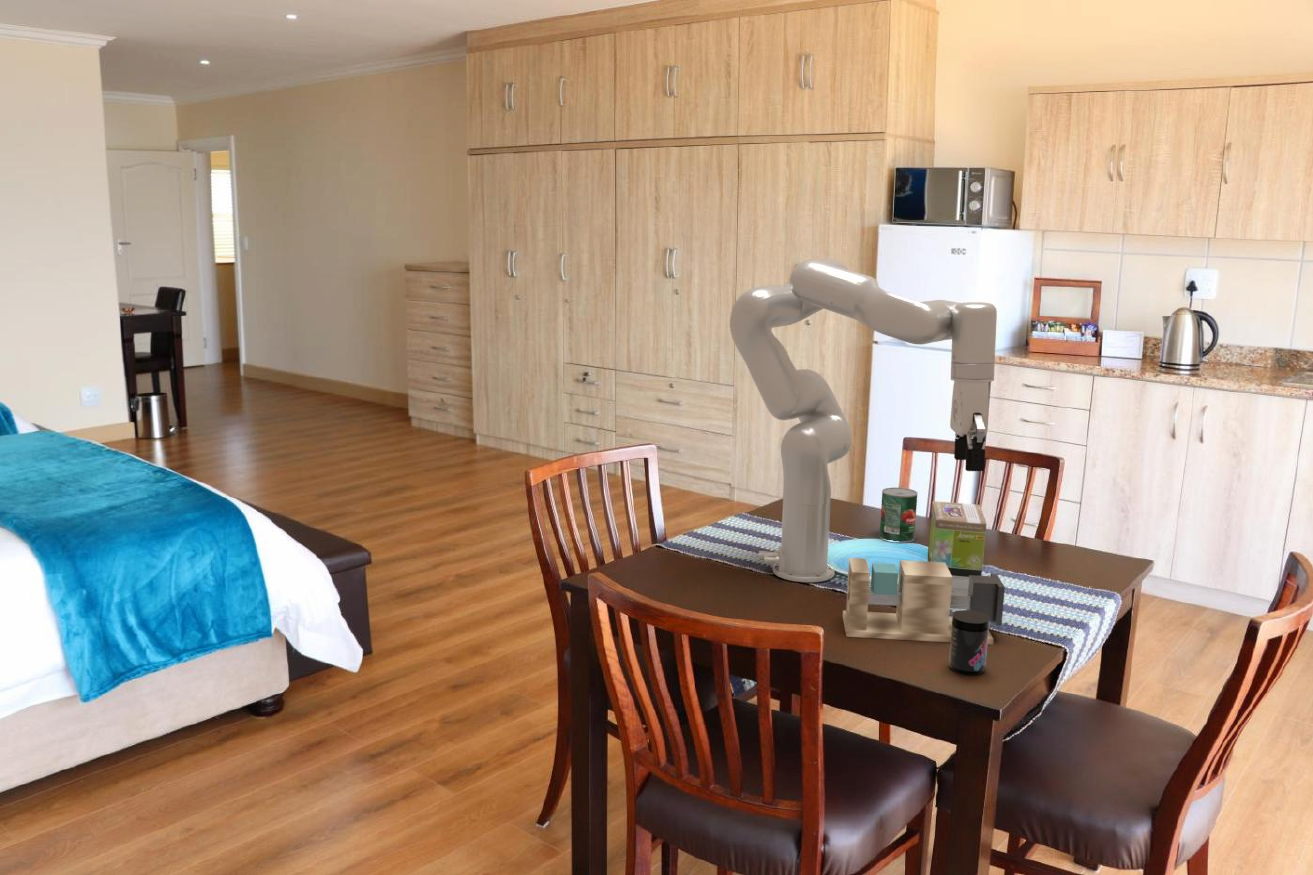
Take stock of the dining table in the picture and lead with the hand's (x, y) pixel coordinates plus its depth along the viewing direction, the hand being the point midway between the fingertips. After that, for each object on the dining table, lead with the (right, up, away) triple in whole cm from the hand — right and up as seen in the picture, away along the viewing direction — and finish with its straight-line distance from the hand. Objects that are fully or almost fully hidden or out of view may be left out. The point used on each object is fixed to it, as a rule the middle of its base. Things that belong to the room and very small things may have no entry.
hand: (968, 465), depth 196 cm
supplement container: (-6, -33, -21) cm, 39 cm away
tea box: (+3, -24, +22) cm, 33 cm away
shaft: (-10, -26, -5) cm, 29 cm away
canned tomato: (-2, -18, +50) cm, 53 cm away
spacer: (-17, -22, -5) cm, 28 cm away
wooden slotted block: (-11, -29, -5) cm, 31 cm away
